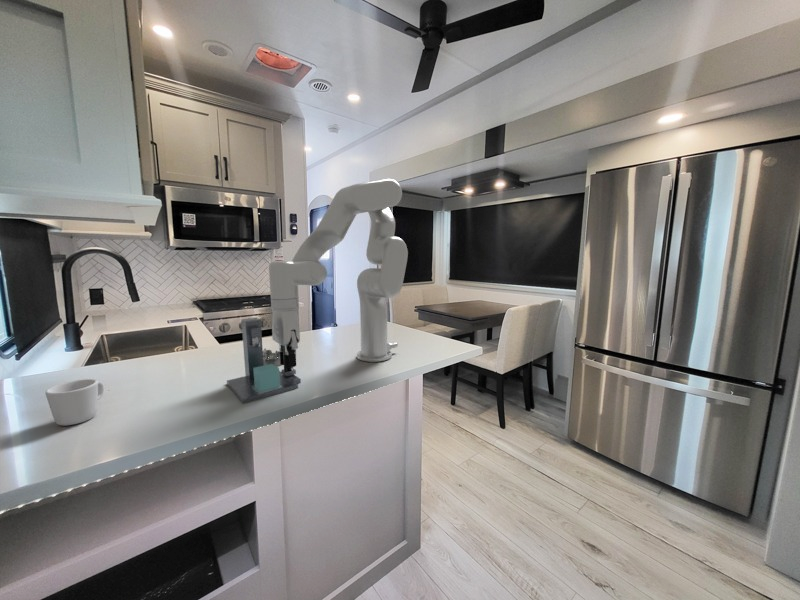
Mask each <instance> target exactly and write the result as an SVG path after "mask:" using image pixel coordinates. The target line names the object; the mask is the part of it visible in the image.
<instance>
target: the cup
mask: <svg viewBox="0 0 800 600" xmlns="http://www.w3.org/2000/svg"><path fill="white" fill-rule="evenodd" d="M103 395H104V384H103V382H101V381H99V380H97V379H94V378H93V379H92V378H86V379H85V378H83V379H77V380H76V379H75V380H71V381H68V382H63V383H60V384H56V385H54V386H52V387H50V388H48V389H46V391H45V397H46V399H47V403H48V405H49V408H50V411H51V414H52V418H53V421H54V422H55V424H57V425H58V426H63V427H64V426H73V425H77V424H80V423H81V424H82V423H84V422H87V421H89V420H91V419H92V418H95V416H96V415H97V413H98V411H99V400H100V399H102V397H103Z"/></svg>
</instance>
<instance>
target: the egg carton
mask: <svg viewBox="0 0 800 600" xmlns="http://www.w3.org/2000/svg"><path fill="white" fill-rule="evenodd" d="M268 357H269V358H268ZM277 357H278V358H277ZM267 358H268V359H267ZM269 364H274V365H275V366H278V367H280V366H282V365H281V364H280V350H275V352H273V351H272V350H271V349H266V348H264V349H263V365H269ZM279 365H280V366H279Z"/></svg>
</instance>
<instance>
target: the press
mask: <svg viewBox="0 0 800 600" xmlns="http://www.w3.org/2000/svg"><path fill="white" fill-rule="evenodd" d="M241 329H242V331H241V333H242V343H243V344H242V345H243V346H242V347H243V359H244V372H245V373H244V374H245V375H244V376H240V377H237V378H232V379H227V380H226V385H227V386H228V387H229V388H230V389H231V391H232V392H233V393H234V395H235V396H236V397H237V398H238V399H239V401H240V402H241V403H242V404H246V403H250V402H253V401H256V400H261V399H264V398H267V397H271V396H274V395H278V394H282V393H285V392H288V391H291V390H296V389H299V384H301V382H302V380H301V378H299V377H298V376H297V375H296V374H294V375H290V376H284V375H283V374H282V370H281V371H280V370H279V375H280V387H276V388H272V389H269V390H265V391H259V390H258V389H257V388H256V387H255V385H254V370H253V368H255V367H260V366H264V365H263V350H264V349H263V335H262V321H261V319H260V318H258V317H250V318H242V319H241ZM296 383H297V384H296Z"/></svg>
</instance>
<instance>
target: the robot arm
mask: <svg viewBox="0 0 800 600" xmlns="http://www.w3.org/2000/svg"><path fill="white" fill-rule="evenodd" d="M402 197H403V190H402V187H401V185H400V184H399V182H397V180H395V179H392V178H386V179H379V180H373V181H368V182H361V183H354V184H352V185H348V186H345V187H343V188H340V189H339V190H338V191H337V192H336V193H335V195H334V197H333V198H332V200H331V201H330V204H329V205H328V207H327V209H326V211H325V213H324V214H323V216H322V218H321V220H320V221H319V223H318V225H317V226H316V227H315V228H314V230H312V232H311V233H310V234H309V235H308V237H307V238H306V239H305V240H304V241H303V242H302V244H301V245H300V246H299V248H298V250H297V252H296V253H295V255H294V256H293V258H292V260H275V261H271V262H270V263H269V264H268V273H269V276H268V277H269V289H270V290H269V291H270V305H271V307H270V308H271V311H272V315H271V328H272V329H271V333H272V334H271V335H272V336H271V337H272V340H273V341H274V342H276V343H277V344H278V347H279V348H278V349H279V350H278V351H280V364H281V365H280V366H284V361H285V368H291V367H293V368H294V367H296V366H297V350H298V348H299V345H298V344H299V343H300V341H301V331H300V328H301V327H300V321H299V312H298V310H299V309H300V299H299V286H310V287H311V286H312V287H313V286H319V285H320V284H321V285H322V283H323V282H324V281H325V280H326V278H327V274H328V271H327V268H326V266H325V265H324V264H323V263H322V262H320V259H321V258H322V257H323V256H324V255H325V254H326V253H327V252H328V251H329V250H331V249H332V248H334V247H336V246H337V245H339V243H341V242H342V241H343V240H344V238H345V237H346V234H347V233H348V231H349V229H350V228H351V225H352V223H353V221H354V220H355V218H356V216H357V215H358V214H364V213H368V215H369V217H370V230H369V236H368V241H367V245H366V246H367V247H366V254H365V255H366V258H367V261H368V262H369V263H371V264H373V265H376V266H377V265H378V266H380V268H378V267H377V268H376V267H375V268H374V267H373V268H371V267H370V268H366V269H363V270H362V271H361V272H360V273H359V275H358V277H357V280H356V286H357V292H358V297H359V309H360V310H359V311H360V313H359V316H360V317H359V320H360V321H359V323H360V350H359V351H358V352H357V353H356V358H357V359H358V360H360V361H362V362H367V363H368V362H369V363H375V362H376V363H377V362H384V361H387V360H389V359H391V358H392V357H393V354H392V351H391V350H392V349H395V348H398V346H399V343H398V342H397V341H395V342H392V343H391V342H388V304H387V301H386V299H392V298H395V297H397V296H398V294H400V292H401V290H402V288H403V284H404V281H405V279H404V278H405V275H406V274H405V273H406V268H407V263H408V257H409V256H408V255H409V250H408V248H407V247H408V246H407V244H406V243H405V241H404V240H403V238H400V237H399V236H396V235H395V234H396V233H395V232H396V218H395V217H394V215H393V212H392V210H391V208H393V207H395V206H397V205H398V204H399V203H400V202H401V200H402ZM289 342H291V343H289ZM283 346H285V354H286V355H284V361H283ZM288 346H291V347H289V349H288Z"/></svg>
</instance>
